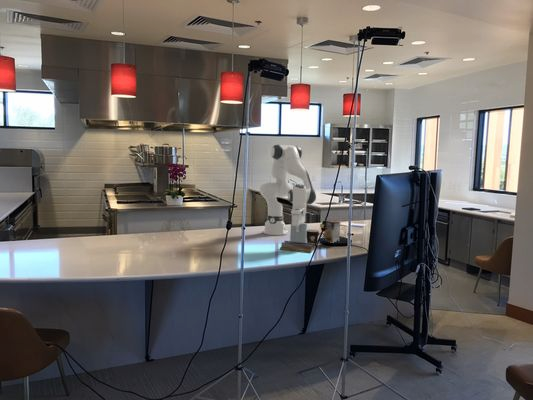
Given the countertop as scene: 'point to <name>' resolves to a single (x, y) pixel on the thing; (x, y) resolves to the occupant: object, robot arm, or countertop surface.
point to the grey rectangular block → (299, 233)
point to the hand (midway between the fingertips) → (298, 231)
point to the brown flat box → (297, 246)
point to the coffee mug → (313, 236)
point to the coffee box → (331, 231)
